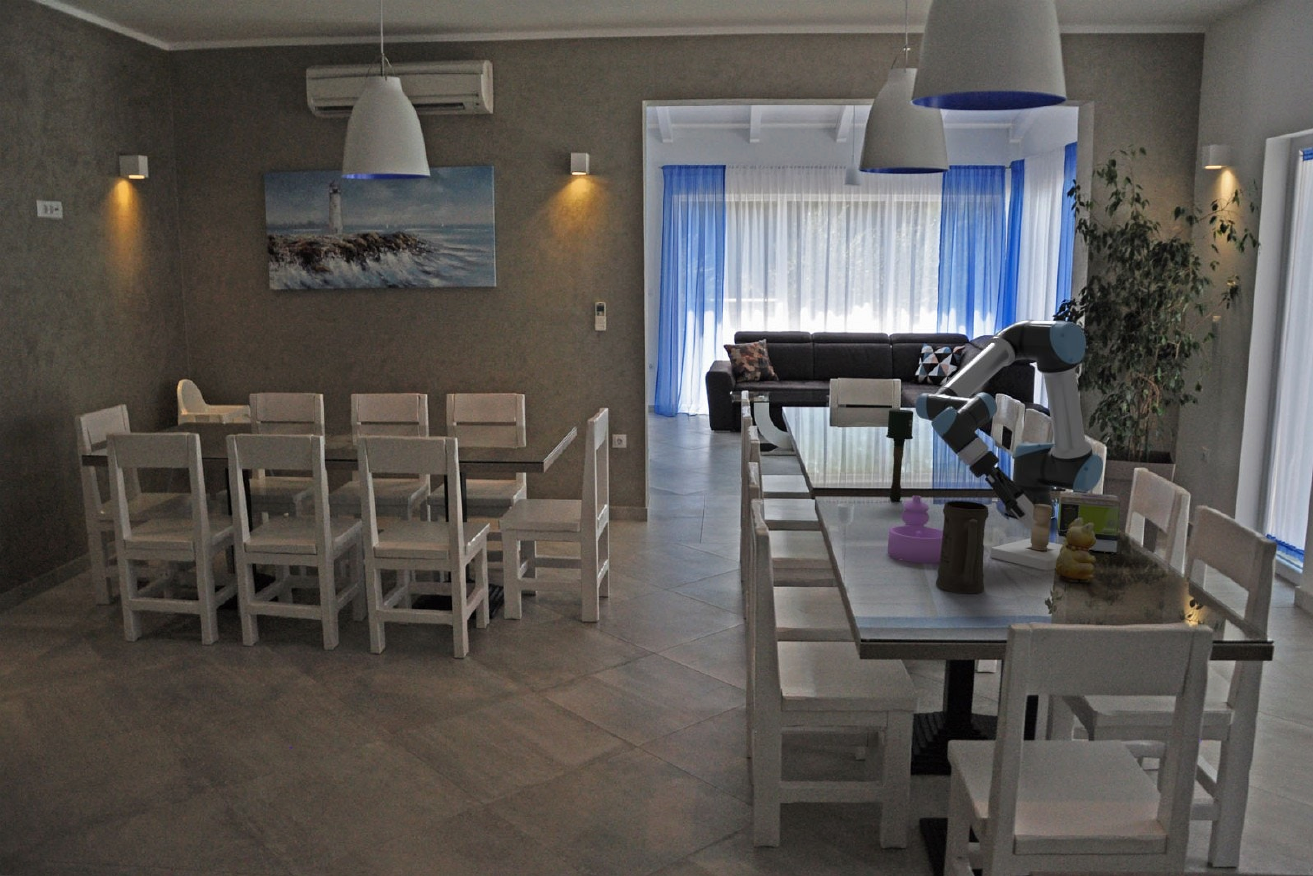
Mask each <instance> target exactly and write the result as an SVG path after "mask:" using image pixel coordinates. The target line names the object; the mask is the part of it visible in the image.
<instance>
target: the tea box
mask: <svg viewBox="0 0 1313 876" xmlns="http://www.w3.org/2000/svg"><path fill="white" fill-rule="evenodd" d="M1057 512H1058V513H1057V525H1056V544H1061V545H1063V544H1064V542H1065V540H1066V538H1067V537H1066V534H1067V531H1068V528H1069V525H1070V524H1071V523H1072V522H1074V520H1075V519H1077V518H1082V519H1083V526H1084V525H1086V524H1088V523H1093V524H1094V528H1093V530H1092V531H1094V533H1095V538H1096V544H1094V546H1093V547H1091V548H1089V549H1096V550H1106V551H1113V552H1118V551H1117V550H1118V540H1119V539H1118V538H1119V529H1120V528H1119V525H1120V518H1121V517H1120V515H1121V501H1120V499H1119V497H1118V495H1115V494H1103V493H1101V494H1100V493H1089V492H1079V491H1059V498H1058V511H1057Z"/></svg>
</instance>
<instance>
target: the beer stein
mask: <svg viewBox="0 0 1313 876" xmlns="http://www.w3.org/2000/svg"><path fill="white" fill-rule="evenodd" d="M942 512H943V517H944V519H943V529H942V530H943V537H942V546H941V554H940V563H938V564H939V565H938V568H937V570H936V571H937V578H936V580H935V586H936V587H937V588H938V589H941V590H943V591H944V592H945V591H946V592H949V593H955V594H962V595H963V594H964V595H965V594H966V595H971V594H972V595H974V594H980V593H982V592H984V591H985V585H984V584H985V583H984V578H985V574H984V550H985V544H984V540H985V528H986V527H985V526H986V521H987V519H988V518H989V507H988V506H987V505H985V504H983V503H980V502H973V501H970V500H969V501H967V500H950V501H946V502H945V503H944V506H943V509H942Z"/></svg>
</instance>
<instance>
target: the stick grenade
mask: <svg viewBox="0 0 1313 876" xmlns="http://www.w3.org/2000/svg"><path fill="white" fill-rule="evenodd" d="M913 426H914V411H913V410H910V409H909V410H908V409H894V408H893V409H889V410H888V422H887V434H886V435H885V437H886V438H888V439H892V441H893V452H892V453H893V455H892V456H893V467H892V480H891V481H892V482H891V486H890V493H889V500H890V501H891V502H892V501H893V502H900V501H901V499H902V485H901V481H902V467H903V466H902V465H903V464H902V463H903V458H904V449H905V442H906V440H913V439H914V436H913Z"/></svg>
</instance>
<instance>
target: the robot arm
mask: <svg viewBox="0 0 1313 876" xmlns="http://www.w3.org/2000/svg"><path fill="white" fill-rule="evenodd" d="M1086 348H1087V338H1086V336H1085V332H1084V331H1083V329H1082V328H1081V327H1080V325H1078V324H1076V323H1075V322H1072V321H1065V320H1042V319H1041V320H1039V319H1038V320H1036V319H1024V320H1020V321H1016V322H1015V323H1012V324H1010V325H1007V326H1006V327H1004V328H1003V329H1001V330H999V331H997V333H995V334H994V335H993V336H991V337H990V338H989V339H988V340H987V341H986V343H985V347H984V348H983V349H982V350H980V352H979V353H977V354H976V355H975V356H973V358H972V359H971V360H970V361H968V363H966V364H965V365H964V366H963V367H961V368H960V369H959V370H958V371H957V372H956V373H955V374H953V376H952V377H950V378H949V379H948V380H947V381H946V382H945V383H944V384H943V385H941V386H940V387H939V388H938V389H936V391H934V392H933V393H932V392H924V393H921V394H919V396H918V397H917V399H916V401H915V405H914V406H915V407H914V408H915V413H916V414H917V416H918V417H919V418H920V419H923V420H926V421H927V420H928V421H930V422H931V428H933V430H934V431H935V432H936V434H937V435H938V437H940V438H941V439H942V441H943V442H944V443H946V445H947V446H948V447H949V448H950V449H951V450H952V451H953V453H954V454H955V455H956V456H957V457H958V458H957V461H959V462H963V465H965V466H967V467H968V466H969V467H968V469H969V471H970V472H971V474H973V476H974V477H975V478H981V477H982V476H984V475H985V478H984V480H985V481H986V483H987V484H988V485H989V486H990V487H991V489H992V490H993V491H994V493H995V494H996V496H997V497H998V498H999V500H1000V501H1001V502H1002V504H1003V505H1004V508H1003V513H1004V514H1005V513H1006V514H1008V515H1007V516H1009V515H1011V516H1010V517H1012V516H1014V517H1013V518H1017V519H1018V520H1019V521H1020V522H1021V524H1023V526H1024V527H1026V529H1027V530H1028V529H1030V528H1032V526H1033V525H1034V524H1035V523H1036V521H1035V520H1034V519H1033V509H1034V504H1045V505H1050V506H1052V512H1051V517H1054V516H1055V517H1056V509H1055V504H1054V500H1053V496H1052V487H1054V488H1058V489H1065V490H1071V491H1073V492H1080V493H1089V492H1091V491H1092V490H1094V489H1095V487H1096V486H1097V485H1098V483H1099V481H1100V479H1102V478H1101V477H1102V475H1103V469H1104V461H1103V459H1102V456H1100V454H1099V455H1098V454H1096V453H1093V445H1092V444H1091V443H1090V442H1089V441H1087V440H1086V437H1085V431H1084V430H1085V429H1084V422H1083V415H1082V408H1081V401H1080V395H1079V389H1078V381H1077V380H1078V379H1077V374H1076V369H1077V368H1078V367H1079V366H1080V362H1081V360H1082V359H1084V356H1085V354H1086ZM1018 360H1031V361H1035V364H1036V370H1037V371H1038V373H1041V374H1042V375H1043V377H1044V384H1045V391H1046V397H1047V403H1048V409H1049V410H1048V411H1049V416H1050V422H1051V427H1052V435H1053V441H1054V442H1025V443H1019V444H1018V445H1016V447H1015V449H1014V450H1015V451H1014V455H1013V459H1014V460H1013V467H1012V468H1013V469H1012V479H1011V478H1010V477H1009V476H1008V475H1007V474H1006V473H1005V472H1003V470H1002V469H1001V467H1000V466H996V465H997V464H998V463H999V462H1000V459H999V457H998V456H997V455H996V454H995V453H994V452H993V450H989V449H990V447H989V446H988V445H987V443H985V441H984V440H983V439H982V438H981V437H980V436H979V435H978V434H977V432H976V431H978V430H979V429H980V428H981V427H982V426H984V425H985V424H986V423H988V422H989V421H991V419H992V418H993V417H994V416H995V415H996V414H997V412H998V405H997V401H996V399H995V398H994V397H993V396H992V395H991V394H989V393H986V392H979V393H976V392H977V391H978V390H979V389H980V388H981V387H982V386H983V385H985V384H986V383H987V382H988V381H989V380H990V379H991V378H992V377H993V376H995V374H997V373H998V372H999V371H1000V370H1001V369H1002V368H1003V367H1007V366H1010V365H1012V363H1014V362H1016V361H1018ZM974 393H976V394H975V395H973V394H974ZM972 395H973V396H972ZM995 466H996V467H995ZM1006 514H1005V515H1006Z"/></svg>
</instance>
